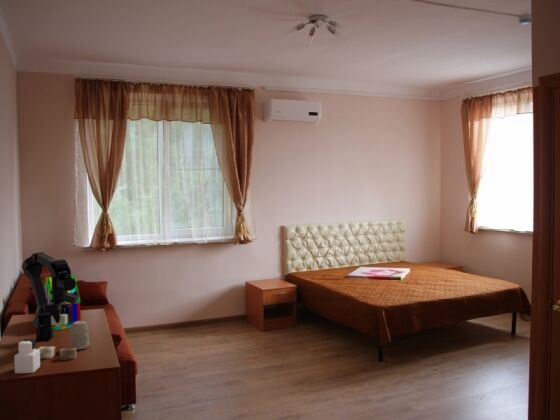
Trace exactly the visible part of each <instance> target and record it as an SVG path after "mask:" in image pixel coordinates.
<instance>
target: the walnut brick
mask: <svg viewBox="0 0 560 420" xmlns="http://www.w3.org/2000/svg"><path fill="white" fill-rule="evenodd" d="M77 352H78V350H76V347H74V348H73V347H63V348H60V350H59V361H69V360H68V359H70V360H76V358H77V355H78V353H77Z"/></svg>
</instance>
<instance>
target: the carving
mask: <svg viewBox="0 0 560 420" xmlns="http://www.w3.org/2000/svg"><path fill="white" fill-rule="evenodd" d="M70 334H71V335H70V338H71V344H72V348H74V347H76V350H77V351H78V350H83V349H86V348H88V347H89V345H90V331H89V325H88V323H87V321H84V320H81V321H76V322H74V323H73V324H72V328H71V331H70Z"/></svg>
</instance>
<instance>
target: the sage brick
mask: <svg viewBox="0 0 560 420" xmlns="http://www.w3.org/2000/svg"><path fill="white" fill-rule="evenodd" d="M67 323H68V314H60V320H59V323H56V321H55V320H54V318H53V316H51V325H65V324H67Z"/></svg>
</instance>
